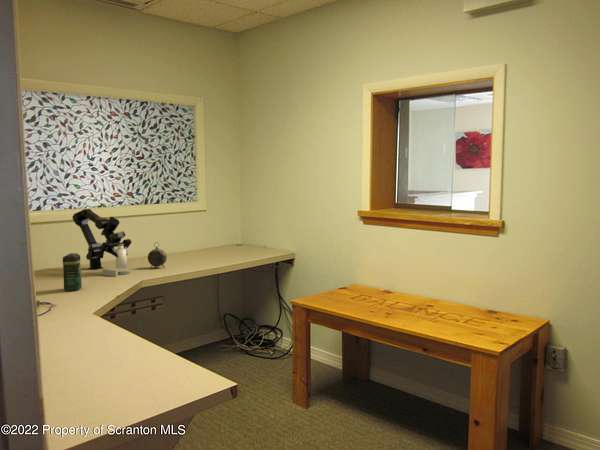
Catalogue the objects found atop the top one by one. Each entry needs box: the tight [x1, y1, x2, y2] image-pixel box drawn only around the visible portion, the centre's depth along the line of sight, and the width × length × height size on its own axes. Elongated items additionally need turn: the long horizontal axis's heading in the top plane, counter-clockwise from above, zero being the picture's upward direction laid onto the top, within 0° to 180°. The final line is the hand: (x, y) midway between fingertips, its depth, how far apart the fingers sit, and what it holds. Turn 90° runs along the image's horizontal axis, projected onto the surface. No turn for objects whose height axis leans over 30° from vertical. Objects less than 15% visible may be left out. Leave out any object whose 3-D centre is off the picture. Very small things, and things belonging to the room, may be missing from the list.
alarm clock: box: [147, 242, 168, 269], centre depth 320 cm, size 11×5×16 cm, turn 84°
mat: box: [118, 270, 131, 276], centre depth 304 cm, size 9×9×1 cm
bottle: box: [114, 244, 128, 270], centre depth 303 cm, size 6×6×14 cm
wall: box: [101, 268, 119, 278], centre depth 298 cm, size 11×1×4 cm, turn 62°
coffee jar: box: [62, 252, 83, 292], centre depth 263 cm, size 10×8×19 cm
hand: (122, 256), depth 302 cm, fingers closed on bottle, 6 cm apart
